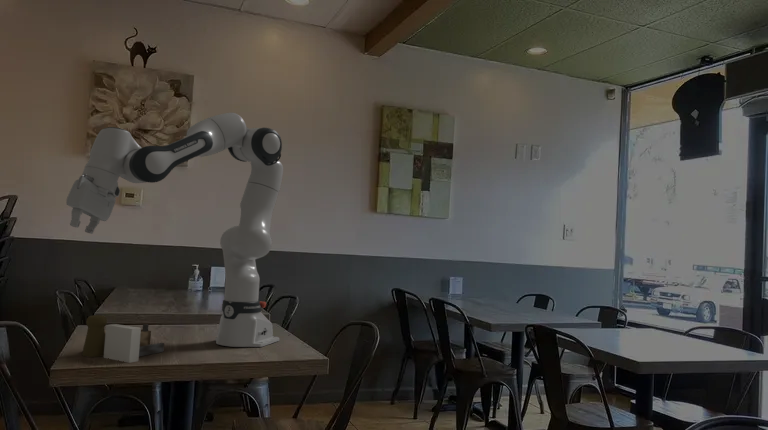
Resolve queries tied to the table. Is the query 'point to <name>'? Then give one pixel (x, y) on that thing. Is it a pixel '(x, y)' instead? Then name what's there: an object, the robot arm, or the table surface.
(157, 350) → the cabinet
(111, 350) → the white rectangular block
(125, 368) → the table surface
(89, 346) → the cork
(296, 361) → the table surface
